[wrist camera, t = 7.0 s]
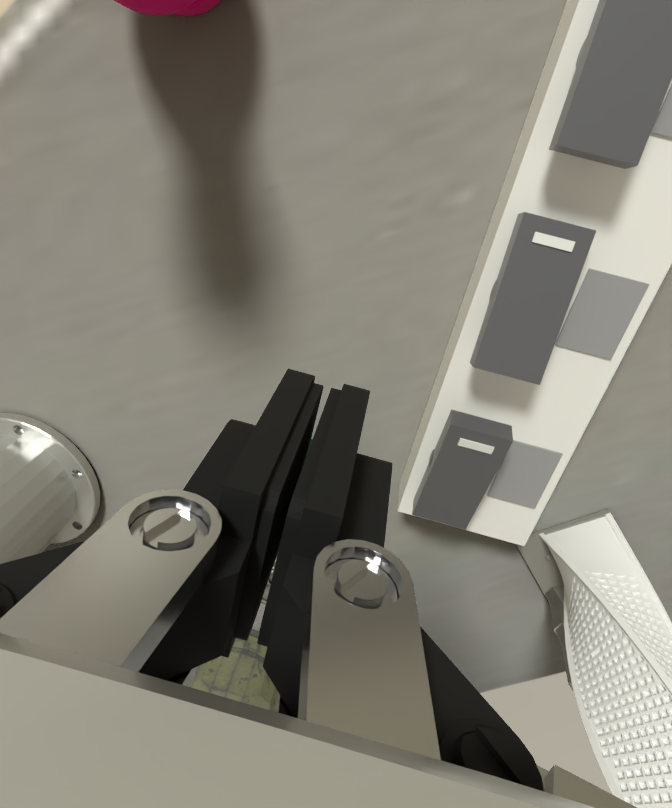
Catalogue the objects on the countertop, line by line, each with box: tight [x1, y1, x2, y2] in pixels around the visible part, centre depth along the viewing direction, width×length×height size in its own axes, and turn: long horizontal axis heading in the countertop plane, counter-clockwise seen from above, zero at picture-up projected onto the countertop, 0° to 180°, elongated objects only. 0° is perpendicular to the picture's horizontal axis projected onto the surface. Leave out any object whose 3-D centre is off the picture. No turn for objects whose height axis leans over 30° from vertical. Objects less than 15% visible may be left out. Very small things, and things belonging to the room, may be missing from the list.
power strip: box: [398, 0, 672, 546], centre depth 32 cm, size 33×9×4 cm, turn 167°
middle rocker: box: [470, 212, 596, 385], centre depth 29 cm, size 8×4×2 cm, turn 167°
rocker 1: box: [412, 409, 513, 530], centre depth 34 cm, size 8×4×2 cm, turn 167°
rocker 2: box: [549, 0, 672, 169], centre depth 24 cm, size 8×4×2 cm, turn 167°
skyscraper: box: [516, 509, 672, 808], centre depth 29 cm, size 8×8×28 cm
